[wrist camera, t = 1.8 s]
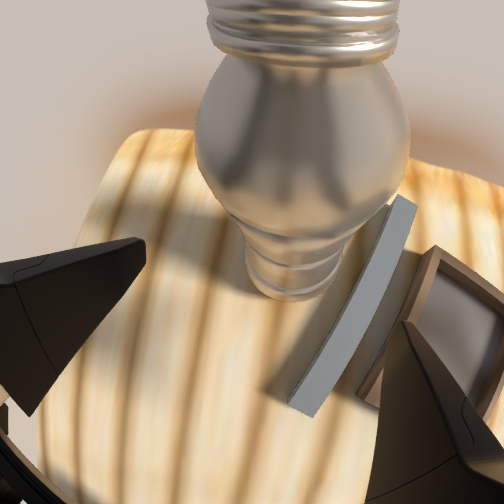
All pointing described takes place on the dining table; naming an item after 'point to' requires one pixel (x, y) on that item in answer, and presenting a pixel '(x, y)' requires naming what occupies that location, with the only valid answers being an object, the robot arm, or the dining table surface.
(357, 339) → the door edge strip
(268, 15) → the plastic bottle
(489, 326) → the brown square tray
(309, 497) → the dining table surface
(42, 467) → the dining table surface
